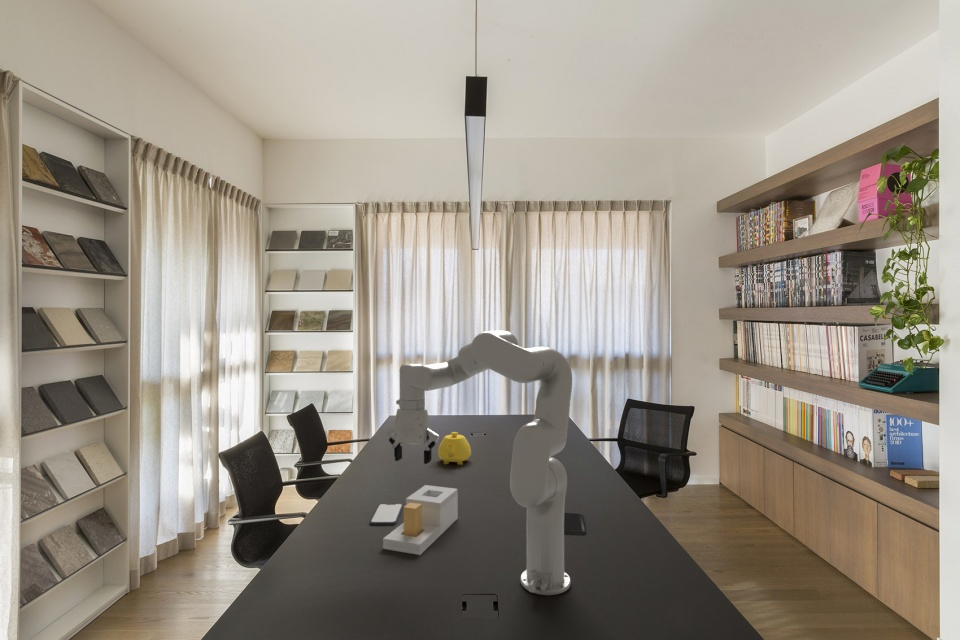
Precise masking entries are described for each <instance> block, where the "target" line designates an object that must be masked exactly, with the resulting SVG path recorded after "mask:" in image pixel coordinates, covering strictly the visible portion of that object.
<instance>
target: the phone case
mask: <svg viewBox="0 0 960 640" xmlns="http://www.w3.org/2000/svg"><path fill="white" fill-rule="evenodd" d="M403 510H404V505H403V504H402V503H381V504H378V506H377V508H376V510H375V512H374V513H373V515H372V517H371V519H370V521H369V524H370V525H371V526H396V525H397V523H398V521H399V519H400V516H401V513H402V512H403Z"/></svg>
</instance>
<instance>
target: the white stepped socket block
mask: <svg viewBox="0 0 960 640" xmlns="http://www.w3.org/2000/svg"><path fill="white" fill-rule="evenodd" d="M458 493H459V490H458V488H453V487H446V486H445V487H444V486H439V485H438V486H436V485H427V484H424V485H423V486H422V487H420V488H418V489H417V490H416V491H415V492H413V493H412V494H410V495H409V496H408V497H406V498H405V506H406V505H407V504H408V503H410V502H411V503H418V504H422V533H421V534H420V535H418V536H417V537H414V536H407V535H404V522H403V523H401V524H400V525H399V526H396V528H395V529H393V530H391V532H389V534H387V535H385V536H384V537H383V538H382V542H383V543H382V549H384V550H389V551H395V552H401V553H406V554H413V555H418V556H421V555H422V554H423V553H424V552H425V551H426V550H427V549H428V548H429V547H430V546H431V545H432V544H433V543H434V542H435V541H436V540H437V539H438V538H439V537H441V535H443V534H444V532H446V530H448V529H449V528H450V527H451V526H452V525H453V524H454V523H455V522H456V521H457V520H458V518H459V517H458V516H459V515H458V513H459V512H458V511H459V510H458V509H459V507H458V506H459V503H458V502H459V501H458V498H459V497H458V495H459V494H458Z"/></svg>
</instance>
